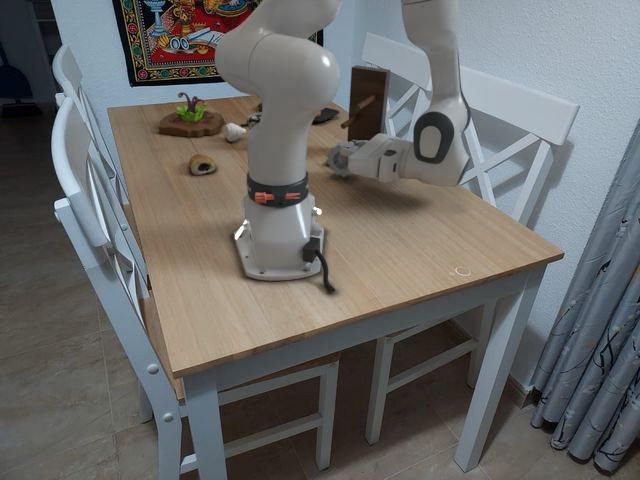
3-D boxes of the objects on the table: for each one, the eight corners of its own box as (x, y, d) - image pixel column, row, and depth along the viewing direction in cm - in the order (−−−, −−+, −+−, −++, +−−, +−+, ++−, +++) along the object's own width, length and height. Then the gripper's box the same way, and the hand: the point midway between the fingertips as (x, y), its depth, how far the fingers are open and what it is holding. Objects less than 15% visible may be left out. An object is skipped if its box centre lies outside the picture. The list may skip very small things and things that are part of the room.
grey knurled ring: (354, 179, 114) (357, 148, 110) (326, 172, 117) (327, 142, 113) (361, 173, 117) (363, 143, 113) (333, 167, 120) (334, 137, 116)
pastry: (186, 162, 124) (185, 149, 122) (211, 159, 126) (210, 146, 124) (192, 176, 117) (190, 162, 115) (218, 173, 119) (216, 159, 117)
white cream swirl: (249, 141, 139) (248, 124, 136) (231, 144, 136) (229, 126, 133) (243, 135, 143) (241, 118, 140) (225, 138, 140) (223, 121, 137)
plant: (172, 115, 157) (167, 83, 151) (228, 117, 156) (225, 85, 150) (152, 136, 140) (145, 100, 134) (214, 138, 140) (210, 102, 134)
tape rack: (368, 175, 120) (376, 83, 107) (326, 165, 125) (330, 76, 111) (388, 156, 131) (397, 70, 118) (349, 148, 136) (354, 64, 123)
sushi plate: (342, 116, 161) (343, 105, 159) (291, 140, 140) (291, 128, 138) (279, 101, 174) (278, 91, 172) (224, 121, 153) (223, 110, 151)
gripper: (413, 132, 114) (363, 123, 119) (385, 160, 99) (328, 147, 104) (410, 156, 117) (361, 146, 123) (382, 185, 102) (327, 172, 107)
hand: (346, 147), depth 113 cm, fingers closed on grey knurled ring, 4 cm apart
